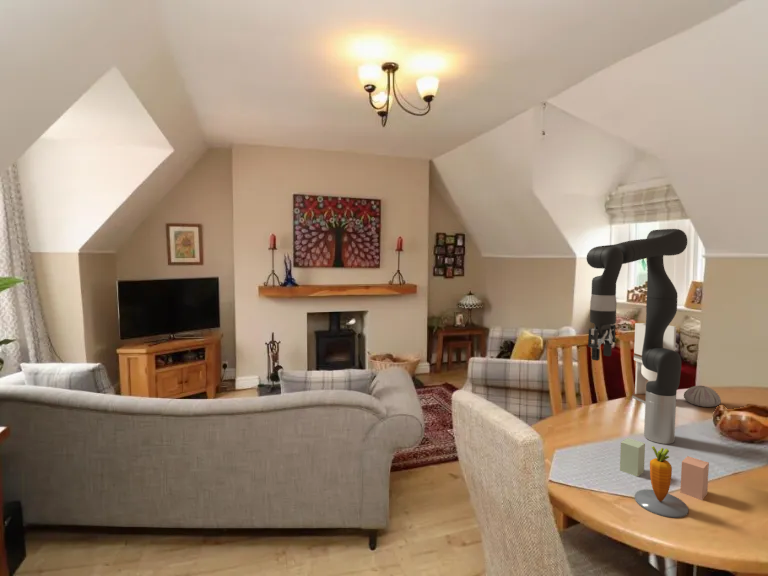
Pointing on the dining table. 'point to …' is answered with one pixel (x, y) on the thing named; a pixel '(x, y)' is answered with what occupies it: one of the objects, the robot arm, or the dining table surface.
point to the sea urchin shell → (702, 396)
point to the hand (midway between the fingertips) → (601, 357)
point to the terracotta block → (694, 477)
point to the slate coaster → (661, 504)
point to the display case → (641, 372)
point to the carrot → (660, 473)
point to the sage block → (632, 457)
